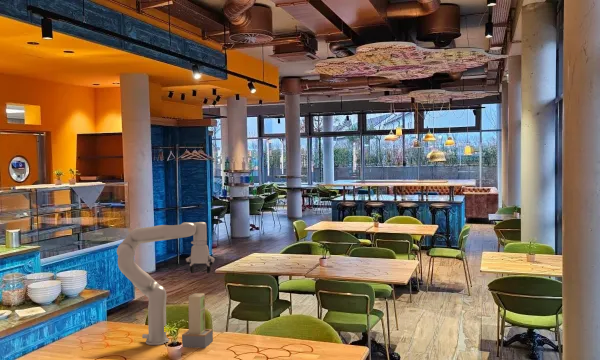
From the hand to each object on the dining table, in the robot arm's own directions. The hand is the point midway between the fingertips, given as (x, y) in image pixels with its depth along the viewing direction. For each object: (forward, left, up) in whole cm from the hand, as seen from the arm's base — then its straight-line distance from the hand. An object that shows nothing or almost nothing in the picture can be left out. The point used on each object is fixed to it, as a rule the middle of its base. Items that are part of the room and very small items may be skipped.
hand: (200, 272), depth 300 cm
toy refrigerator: (+4, -16, -31) cm, 35 cm away
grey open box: (+4, -16, -36) cm, 40 cm away
